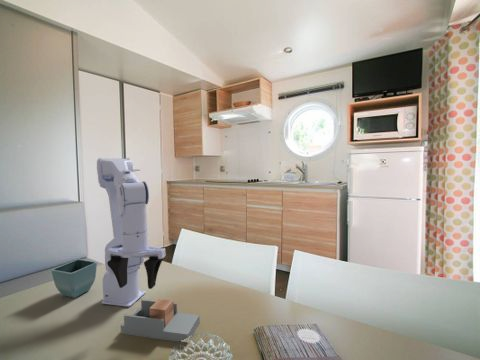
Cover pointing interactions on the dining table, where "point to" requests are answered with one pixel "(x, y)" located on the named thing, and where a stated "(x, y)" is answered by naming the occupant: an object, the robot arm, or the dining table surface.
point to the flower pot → (74, 277)
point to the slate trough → (159, 324)
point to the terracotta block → (162, 310)
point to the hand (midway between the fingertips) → (137, 286)
